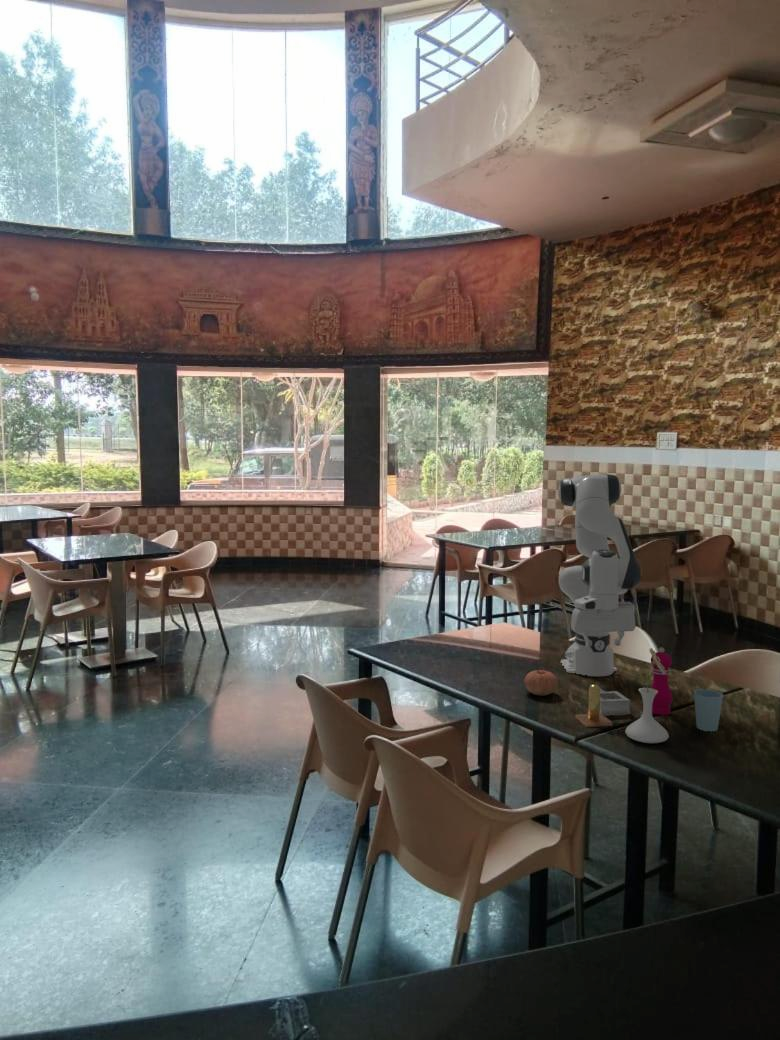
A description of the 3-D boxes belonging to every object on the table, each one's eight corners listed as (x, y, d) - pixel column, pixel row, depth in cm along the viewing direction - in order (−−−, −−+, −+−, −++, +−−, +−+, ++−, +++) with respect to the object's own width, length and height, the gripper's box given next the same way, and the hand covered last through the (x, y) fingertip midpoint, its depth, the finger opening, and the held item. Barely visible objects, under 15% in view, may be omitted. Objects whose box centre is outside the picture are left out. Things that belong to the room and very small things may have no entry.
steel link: (578, 698, 245) (579, 685, 244) (605, 697, 246) (605, 683, 246) (601, 716, 228) (601, 701, 227) (629, 714, 229) (630, 700, 229)
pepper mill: (656, 716, 228) (658, 650, 226) (642, 708, 235) (644, 645, 233) (677, 714, 230) (679, 649, 228) (662, 706, 237) (664, 643, 235)
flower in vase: (664, 750, 201) (667, 657, 199) (620, 742, 206) (623, 652, 204) (672, 735, 212) (675, 647, 210) (631, 727, 218) (633, 642, 216)
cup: (688, 723, 222) (690, 688, 221) (715, 724, 221) (717, 689, 220) (697, 732, 214) (699, 696, 213) (725, 733, 213) (727, 697, 213)
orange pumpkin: (561, 699, 244) (562, 674, 244) (528, 699, 244) (528, 675, 243) (552, 689, 255) (553, 665, 254) (520, 689, 254) (521, 666, 254)
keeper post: (575, 717, 226) (576, 681, 225) (600, 716, 227) (601, 680, 226) (586, 727, 218) (587, 689, 217) (612, 725, 219) (613, 688, 219)
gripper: (630, 599, 242) (629, 642, 243) (569, 601, 239) (568, 644, 239) (639, 602, 236) (638, 646, 236) (577, 604, 232) (576, 648, 233)
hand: (602, 645), depth 238 cm, fingers open, 8 cm apart
